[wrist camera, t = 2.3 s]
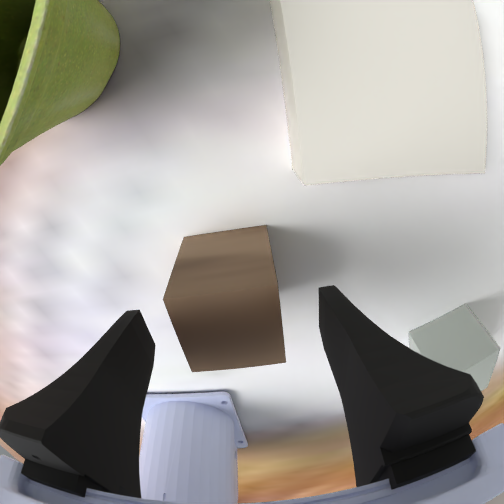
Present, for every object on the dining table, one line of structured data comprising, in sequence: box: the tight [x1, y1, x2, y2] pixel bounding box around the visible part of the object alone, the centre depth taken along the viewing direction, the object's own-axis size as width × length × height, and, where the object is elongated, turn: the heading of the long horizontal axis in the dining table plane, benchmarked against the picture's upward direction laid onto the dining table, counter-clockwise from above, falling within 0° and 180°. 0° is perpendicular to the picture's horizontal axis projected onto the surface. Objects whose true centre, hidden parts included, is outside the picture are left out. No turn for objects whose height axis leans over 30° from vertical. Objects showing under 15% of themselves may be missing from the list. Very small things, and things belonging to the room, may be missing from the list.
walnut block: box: [163, 225, 286, 372], centre depth 13 cm, size 4×4×5 cm
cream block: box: [270, 0, 487, 186], centre depth 10 cm, size 9×9×3 cm
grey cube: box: [409, 303, 500, 391], centre depth 17 cm, size 5×5×5 cm
